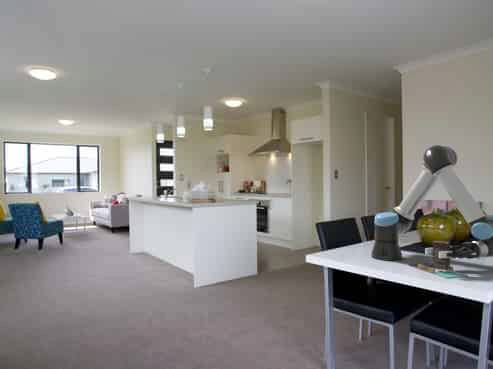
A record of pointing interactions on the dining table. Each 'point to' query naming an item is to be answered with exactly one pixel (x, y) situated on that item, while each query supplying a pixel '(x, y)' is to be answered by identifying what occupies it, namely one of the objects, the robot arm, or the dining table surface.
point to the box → (438, 262)
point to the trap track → (427, 267)
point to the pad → (450, 274)
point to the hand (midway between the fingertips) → (432, 253)
